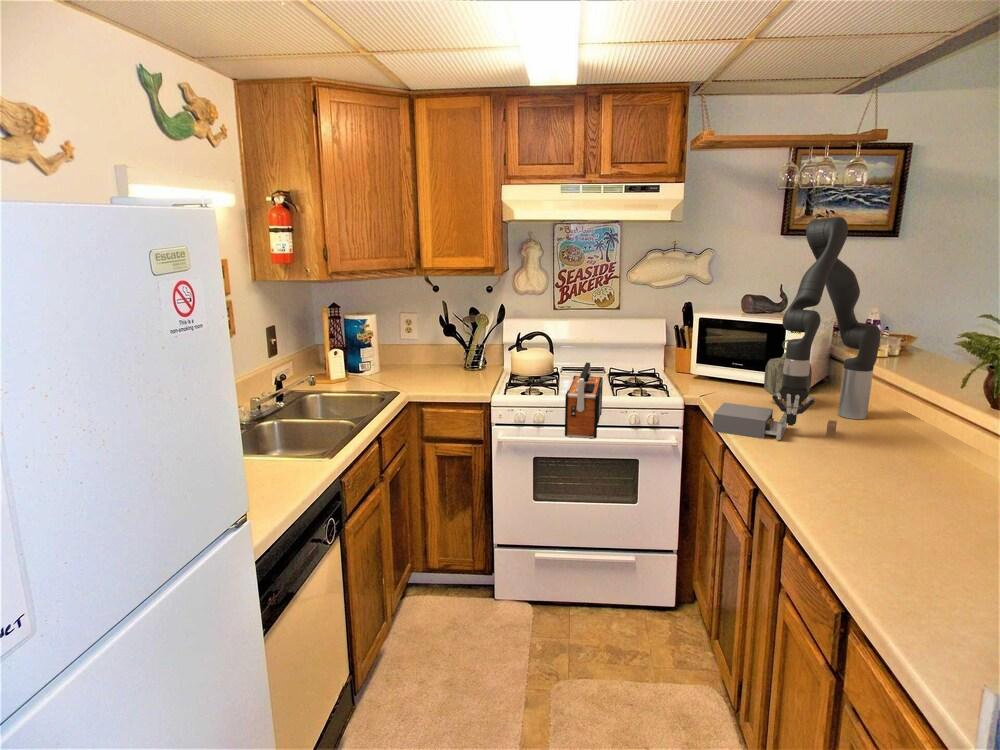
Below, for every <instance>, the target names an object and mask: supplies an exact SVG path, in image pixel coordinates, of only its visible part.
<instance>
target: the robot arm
mask: <svg viewBox="0 0 1000 750" xmlns="http://www.w3.org/2000/svg"><path fill="white" fill-rule="evenodd" d="M848 233H849V226H848V223H847V220H846V219H845V217H843V216H832V217H831V216H830V217H825V218H824V217H823V218H817V219H813V220H810V222H808V223H807V225H806V228H805V235H806V241H807V243H808V246H809V248H810V250H811V253H812V254H813V256H814V258H815V261H814V263H813V264H812V265H810V267H809V268H808V269H807V271H806V272H805V273H804V274H803V276H802V278H801V280H800V283H799V286H798V289H797V293H796V296H795V297H794V299H793V301H792V302H791V304H790V305H789V306H788V308H787V309H786V311H785V312H784V314H783V317H782V326H783V328H784V329H785V330H786V331H788V332H792V333H793V332H795V333H803V334H804V335H803V336H802V338H794V339H793V338H792V339H788V340H789V341H787V342H786V346H785V348H786V350H785V352H786V358H785V362H784V368H783V379H782V388H781V389H780V391H779V393H777V394H774V395H772V400H773V401H774V402H775V404H776V405H777V407H778V409H780V411H781V412H783V413H784V412H786V413H787V418H786V423H787V426H790V427H793V426H794V425H796V423H797V417H798V415H801V414H804V413H805V411H807V410H808V409H810V407H811V406H812V405H813V404H814V403H815V402H816V399H815V398H814V397H811V396H810V391H809V392H808V380H809V371H810V364H811V363H810V362H811V353H812V351H811V350H812V346H813V343H814V340H815V336H816V334H817V332H818V329H819V327H820V325H821V322H822V320H821V316H820V313H819V312H818V311H817V310H813V309H812V310H811V309H806V308H811V307H813V308H814V307H816V306H818V305H819V304H820V303H821V301H822V297H823V293H824V290H825V288H826V290H827V293H828V295H829V299H830V302H831V304H832V306H833V310H834V313H835V317H836V320H837V321H836V322H837V325H838V330H839V336H840V339H841V342H842V343H843V345H844V346H845V347H847V348H849V349H854V350H858V353H857V355H856V356H855V357H849V358H846V359H844V361H843V369H842V377H841V383H840V384H841V385H840V391H839V393H840V394H839V400H838V401H839V403H838V409H837V415H838V416H839V417H841V418H846V419H851V420H865V419H867V418H868V413H869V412H868V411H869V404H870V399H871V398H870V396H871V391H872V390H871V389H872V382H873V375H874V374H873V373H874V367H875V365H876V362H877V359H878V355H879V354H878V353H879V349H880V342H881V336H882V335H881V334H882V332H881V329H880V327H879V326H878V325H876V324H871V323H865V322H859V321H858V320H857V317H856V315H855V307H856V305H857V303H858V300H859V299H860V295H861V289H860V284H859V282H858V279H857V275H856V274H855V273H854V271H853V270H852V269H851V268H850V267H849V266H848V265H847V264H846V263H844V262H843V261H842V260H841V259H839V255H840V254H841V251H842V250H843V247H844V246H845V243H846V241H847V238H848ZM780 395H781V396H782V398H783V400H784V402H785V403H786V406H785V405H784V403H783V400H782V401H781V396H780ZM804 401H805V404H803V402H804ZM801 403H802V404H803V407H802V408H799V404H801ZM792 405H793V407H792Z"/></svg>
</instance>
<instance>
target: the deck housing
mask: <svg viewBox="0 0 1000 750" xmlns="http://www.w3.org/2000/svg"><path fill="white" fill-rule="evenodd" d="M773 413H774V408H770V407H763V406H762V407H760V406H755V405H746V404H738V403H731V402H723V403H722V404H721V405H720V406H719V407H718V408H717V409H716V410H715V411H714V413H713V416H712V417H713V419H712V430H711V431H712V432H716V433H723V434H728V435H735V436H736V435H737V436H741V437H742V436H743V437H749V438H754V439H755V438H756V439H761V440H762V439H763V440H764V439H765V437H766V436H767V434H765V427H766V422H767V420H768V419H769V418H773Z"/></svg>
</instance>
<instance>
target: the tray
mask: <svg viewBox="0 0 1000 750" xmlns="http://www.w3.org/2000/svg"><path fill="white" fill-rule="evenodd" d="M786 418H787V413H786V412H783V414H782V416H781V417H780V419H779V420H778V421H775V420H774V422H773V426H772V427H771V429H770V430H765V434H766V435H773V436H775V437H776V438H775V439H776V440H777V441H778V440H779V441H780V440H781V439H782V437H783V436H784V434H785V432H786V429H787V427H788V423H786Z"/></svg>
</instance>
